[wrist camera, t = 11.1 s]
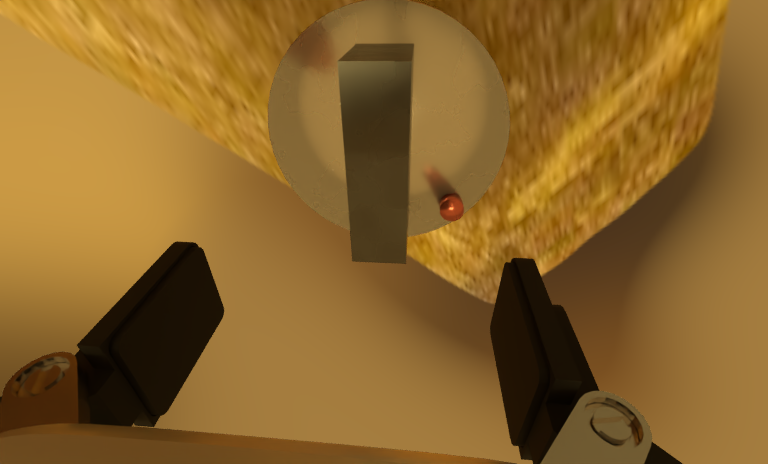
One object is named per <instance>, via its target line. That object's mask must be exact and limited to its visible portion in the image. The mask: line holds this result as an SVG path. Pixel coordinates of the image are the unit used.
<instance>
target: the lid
mask: <svg viewBox="0 0 768 464" xmlns="http://www.w3.org/2000/svg"><path fill="white" fill-rule="evenodd" d="M268 127H269V135H270V140H271V144H272V148H273V152H274V155H275V157H276V160H277V162H278V165H279V167H280V169H281V171H282V173H283V174H284V176H285V178H286V180H287V181H288V183H289V184H290V185H291V187H292V188H293V190H294V191H295V192H296V193H297V194H298V195H299V197H300V198H301V199H302V200H303V201H304V202H305V203H306V204H307V205H308V206H309V207H311V208H312V209H313V210H314V211H315V212H317V213H318V214H320V215H321V216H322V217H324V218H325V219H327V220H329V221H331V222H332V223H334V224H336V225H338V226H340V227H343V228H345V229H347V230H350V236H351V249H352V261H356V262H378V263H379V262H380V263H401V264H406V254H407V237H409V236H415V235H419V234H424V233H427V232H430V231H433V230H436V229H438V228H440V227H443V226H445V225H447V224H449V223H451V222H452V221H456V220H458V219H460V218H461V217H462V215H463V214H464V213H465V212H467V211H468V210H469V209H470V208H471V207H473V206H474V205H475V204H476V202H477V201H478V200H479V199H480V198H481V197H482V196H483V195H484V194H485V192H486V191H487V189H488V188H489V187H490V185H491V184H492V182H493V180H494V179H495V177H496V175H497V173H498V171H499V169H500V166H501V164H502V161H503V159H504V156H505V152H506V148H507V144H508V138H509V129H510V115H509V105H508V99H507V93H506V90H505V87H504V83H503V80H502V77H501V75H500V73H499V71H498V69H497V67H496V65H495V63H494V61H493V59H492V58H491V56H490V55H489V53H488V52H487V50H486V49H485V47H484V46H483V45H482V44H481V43H480V42H479V40H478V39H477V38H476V37H475V36H474V35H473V34H472V33H471V32H470V31H469V30H468V29H467V28H466V27H464V26H463V25H462V24H461V23H459V22H458V21H457V20H456V19H454V18H453V17H451V16H449V15H447V14H446V13H444V12H442V11H441V10H439V9H436V8H434V7H431V6H429V5H426V4H424V3H420V2H415V1H411V0H364V1H360V2H356V3H352V4H349V5H346V6H344V7H341V8H339V9H337V10H334V11H332V12H330V13H328V14H327V15H325V16H323V17H322V18H320V19H319V20H317V21H315V22H314V23H313V24H312V25H311V26H309V27H308V28H307V29H306V30H305V31H304V32H302V33H301V35H300V36H299V37H298V38H297V39H296V40H295V42H294V43H293V44H292V45H291V46H290V48H289V49H288V51H287V53H286V54H285V56H284V57H283V59H282V60H281V63H280V65H279V67H278V69H277V72H276V74H275V76H274V80H273V83H272V87H271V90H270V97H269V104H268Z"/></svg>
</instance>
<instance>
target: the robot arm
mask: <svg viewBox="0 0 768 464" xmlns="http://www.w3.org/2000/svg"><path fill="white" fill-rule="evenodd" d="M223 315H224V307H223V304H222V301H221V298H220V296H219V293H218V290H217V287H216V284H215V281H214V279H213V276H212V273H211V270H210V267H209V265H208V262H207V259H206V256H205V253H204V251H203V249H202V248H200V247H198V245H197V244H196V243H193V242H175V243H173V244H172V245H171V246H170V247H169V248H168V249H167V250H166V251H165V252H164V253H163V254H162V255H161V257H160V258H159V259H158V260H157V261H156V262H155V263H154V264H153V265H152V266H151V267H150V268H149V269H148V270H147V271H146V272H145V273H144V275H143V276H142V277H141V278H140V279H139V280H138V281H137V282H136V283H135V284H134V285H133V286H132V287H131V288H130V289H129V290H128V292H127V293H126V294H125V295H124V296H123V297H122V298H121V299H120V300H119V301H118V302H117V303H116V304H115V305H114V306H113V307H112V308H111V310H110V311H109V312H108V313H107V314H106V315H105V316H104V317H103V318H102V319H101V320H100V321H99V322H98V323H97V324H96V326H94V327H93V329H92V330H91V331H90V332H89V333H88V334H87V335H86V336H85V337H84V338H83V339H82V340H81V341H80V343H78V344H77V346H78V348H79V349H80V350H79V351H78V352H77V353H76V355H75V356H74V355H73V354H72V353H69V352H54V353H51V354H47V355H44V356H41V357H39V358H37V359H35V360H33V361H31V362H29V363H28V364H26V365H25V366H23V367H22V368H20V370H18V371H17V372H16V373H15V374H14V375H12V377H11V378H10V379H9V380H8V382H7V383H6V384H5V387H4V389H3V392H2V396H1V397H0V464H515V463H508V462H502V461H496V460H490V459H483V458H474V457H465V456H456V455H447V454H438V453H429V452H419V451H408V450H397V449H386V448H376V447H364V446H354V445H344V444H332V443H322V442H311V441H298V440H288V439H277V438H265V437H253V436H242V435H231V434H230V435H229V434H218V433H206V432H194V431H182V430H170V429H157V428H146V427H131V426H132V425H133V423H134V424H135V425H137V426H148V427H154V426H155V424H156V422H157V421H158V419H159V417H160V416H161V415H164V414H165V413H166V412H167V411H168V409H169V408H170V406H171V405H172V403H173V401H174V399H175V398H176V396H177V394H178V393H179V391H180V389H181V388H182V386H183V384H184V382H185V381H186V379H187V377H188V376H189V374H190V372H191V371H192V369H193V367H194V366H195V364H196V362H197V360H198V359H199V357H200V355H201V353H202V352H203V350H204V349H205V346H206V345H207V343H208V342H209V340H210V338H211V337H212V335H213V333H214V332H215V330H216V328H217V327H218V325H219V323H220V321H221V320H222V318H223ZM490 333H491V340H492V345H493V350H494V355H495V361H496V366H497V371H498V376H499V381H500V387H501V392H502V397H503V403H504V408H505V413H506V418H507V424H508V429H509V434H510V439H511V443H512V444H513V445H514V446H519V451H520V456H521V459H524V460H532V461H533V464H682V463H681V462H680V461H678V460H676V459H675V458H674V457H672V456H671V455H670V454H668V453H667V452H666V451H664V450H663V449H661V448H660V447H659V446H657V445H656V444H654V443H653V442H652V434H651V430H650V427H649V425H648V423H647V421H646V420H645V418H644V416H643V415H642V414H641V413H640V412H639V411H638V410H637V409H636V408H635V407H634V406H633V405H632V404H630V403H629V402H628V401H626V400H625V399H623V398H621V397H619V396H617V395H615V394H613V393H609V392H604V391H599V389H598V386H597V384H596V382H595V379H594V377H593V375H592V372H591V370H590V368H589V365H588V363H587V361H586V358H585V356H584V354H583V351H582V349H581V347H580V344H579V342H578V340H577V337H576V335H575V333H574V330H573V328H572V326H571V324H570V321H569V319H568V316H567V314H566V312H565V310H564V308H563V307H562V306H561V305H552V303H551V301H550V299H549V296H548V293H547V291H546V288H545V286H544V283H543V281H542V278H541V276H540V273H539V271H538V268H537V266H536V263H535V261H534V260H533V259H526V258H513V259H512V260H511V263H508V262H506V263H505V265H504V269H503V273H502V277H501V282H500V286H499V290H498V295H497V299H496V303H495V308H494V312H493V317H492V321H491V326H490Z"/></svg>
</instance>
